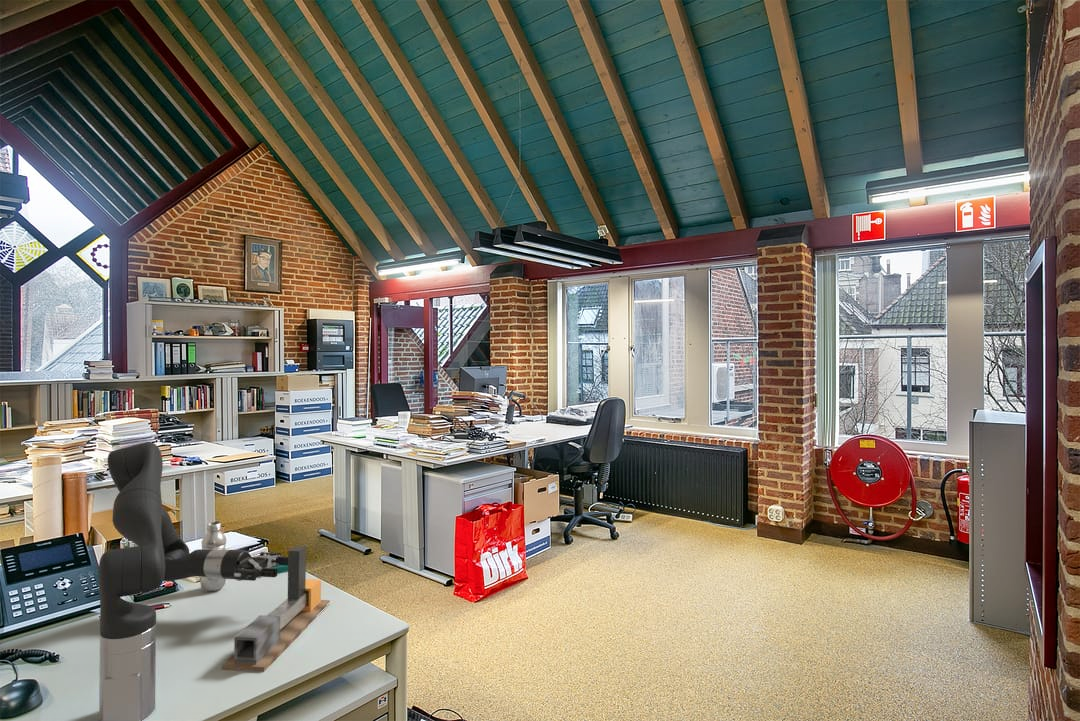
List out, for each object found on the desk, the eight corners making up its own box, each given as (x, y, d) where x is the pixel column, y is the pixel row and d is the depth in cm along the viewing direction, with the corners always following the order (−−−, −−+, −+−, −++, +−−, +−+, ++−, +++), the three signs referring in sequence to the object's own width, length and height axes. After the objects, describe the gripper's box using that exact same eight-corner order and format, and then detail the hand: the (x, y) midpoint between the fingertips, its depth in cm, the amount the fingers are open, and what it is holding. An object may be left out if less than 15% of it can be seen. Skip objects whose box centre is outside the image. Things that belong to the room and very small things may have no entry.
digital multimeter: (238, 574, 192) (238, 565, 192) (287, 565, 201) (287, 556, 201) (242, 581, 186) (242, 572, 186) (292, 572, 195) (292, 563, 195)
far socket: (310, 611, 163) (311, 588, 163) (290, 610, 164) (291, 587, 164) (320, 601, 170) (321, 579, 170) (301, 600, 170) (302, 578, 170)
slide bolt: (273, 636, 145) (274, 570, 145) (259, 635, 146) (260, 569, 145) (313, 598, 167) (313, 540, 167) (301, 598, 168) (302, 540, 167)
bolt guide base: (263, 671, 135) (264, 640, 135) (221, 669, 136) (221, 638, 135) (329, 603, 171) (330, 579, 171) (295, 602, 171) (296, 577, 171)
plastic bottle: (201, 587, 180) (201, 521, 180) (226, 584, 183) (227, 519, 183) (199, 595, 174) (199, 527, 174) (225, 592, 177) (225, 525, 177)
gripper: (211, 559, 155) (271, 562, 154) (242, 541, 169) (297, 544, 168) (211, 588, 155) (271, 591, 154) (241, 568, 169) (297, 570, 168)
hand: (284, 566), depth 161 cm, fingers open, 8 cm apart
